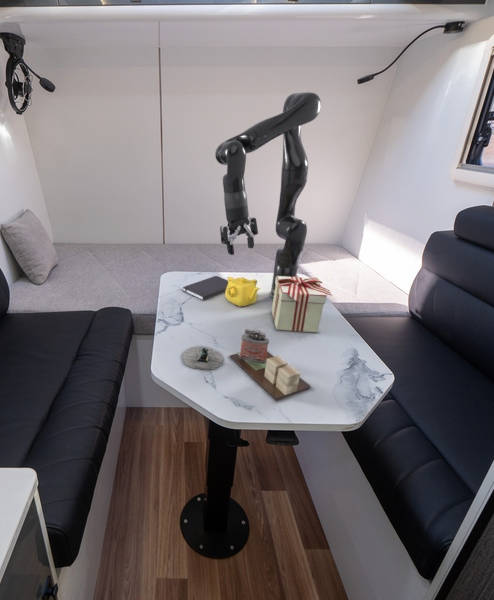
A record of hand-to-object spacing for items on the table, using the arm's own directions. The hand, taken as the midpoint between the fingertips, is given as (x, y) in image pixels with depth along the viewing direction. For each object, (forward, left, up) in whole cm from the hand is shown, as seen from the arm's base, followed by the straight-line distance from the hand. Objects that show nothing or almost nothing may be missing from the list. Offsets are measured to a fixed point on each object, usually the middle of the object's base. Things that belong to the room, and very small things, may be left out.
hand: (241, 251), depth 131 cm
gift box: (-16, +16, -25) cm, 34 cm away
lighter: (+13, +29, -24) cm, 40 cm away
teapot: (-8, -7, -25) cm, 27 cm away
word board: (+12, +35, -25) cm, 44 cm away
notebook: (-3, -24, -25) cm, 35 cm away
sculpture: (+26, +21, -25) cm, 42 cm away
